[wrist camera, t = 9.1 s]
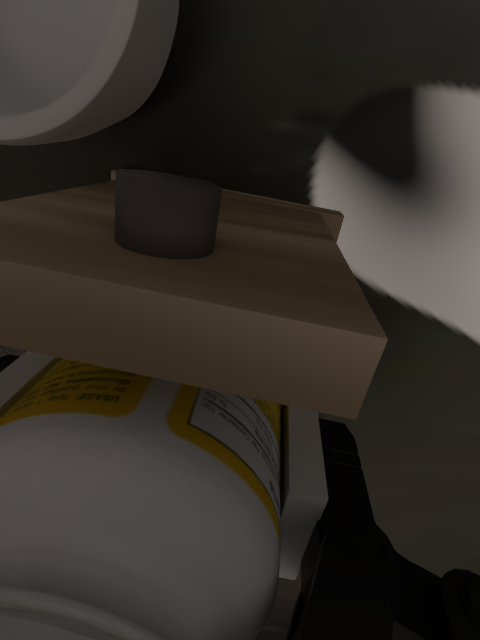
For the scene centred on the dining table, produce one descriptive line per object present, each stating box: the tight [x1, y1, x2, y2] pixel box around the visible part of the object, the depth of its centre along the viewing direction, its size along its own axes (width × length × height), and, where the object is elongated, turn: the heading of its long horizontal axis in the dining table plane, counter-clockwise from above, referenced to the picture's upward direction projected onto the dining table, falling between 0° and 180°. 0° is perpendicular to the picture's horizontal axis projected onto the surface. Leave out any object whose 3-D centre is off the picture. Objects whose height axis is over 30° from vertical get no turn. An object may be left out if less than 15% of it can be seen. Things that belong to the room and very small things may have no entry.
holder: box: [0, 169, 388, 420], centre depth 11 cm, size 13×8×10 cm, turn 170°
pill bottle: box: [0, 358, 281, 640], centre depth 9 cm, size 6×6×11 cm
